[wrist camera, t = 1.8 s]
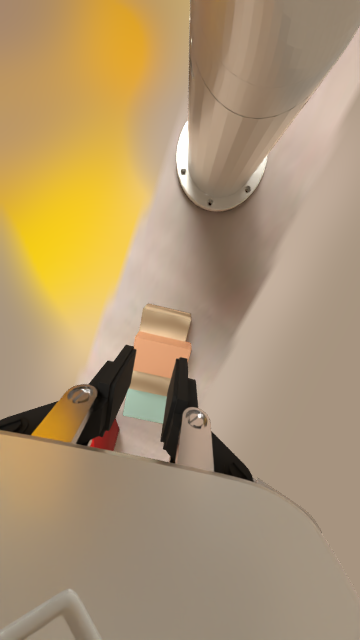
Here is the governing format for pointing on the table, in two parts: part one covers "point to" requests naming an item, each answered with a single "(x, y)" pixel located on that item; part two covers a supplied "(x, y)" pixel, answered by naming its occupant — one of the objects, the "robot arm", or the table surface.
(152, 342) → the card
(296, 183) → the table surface
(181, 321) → the sheet
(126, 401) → the mat
